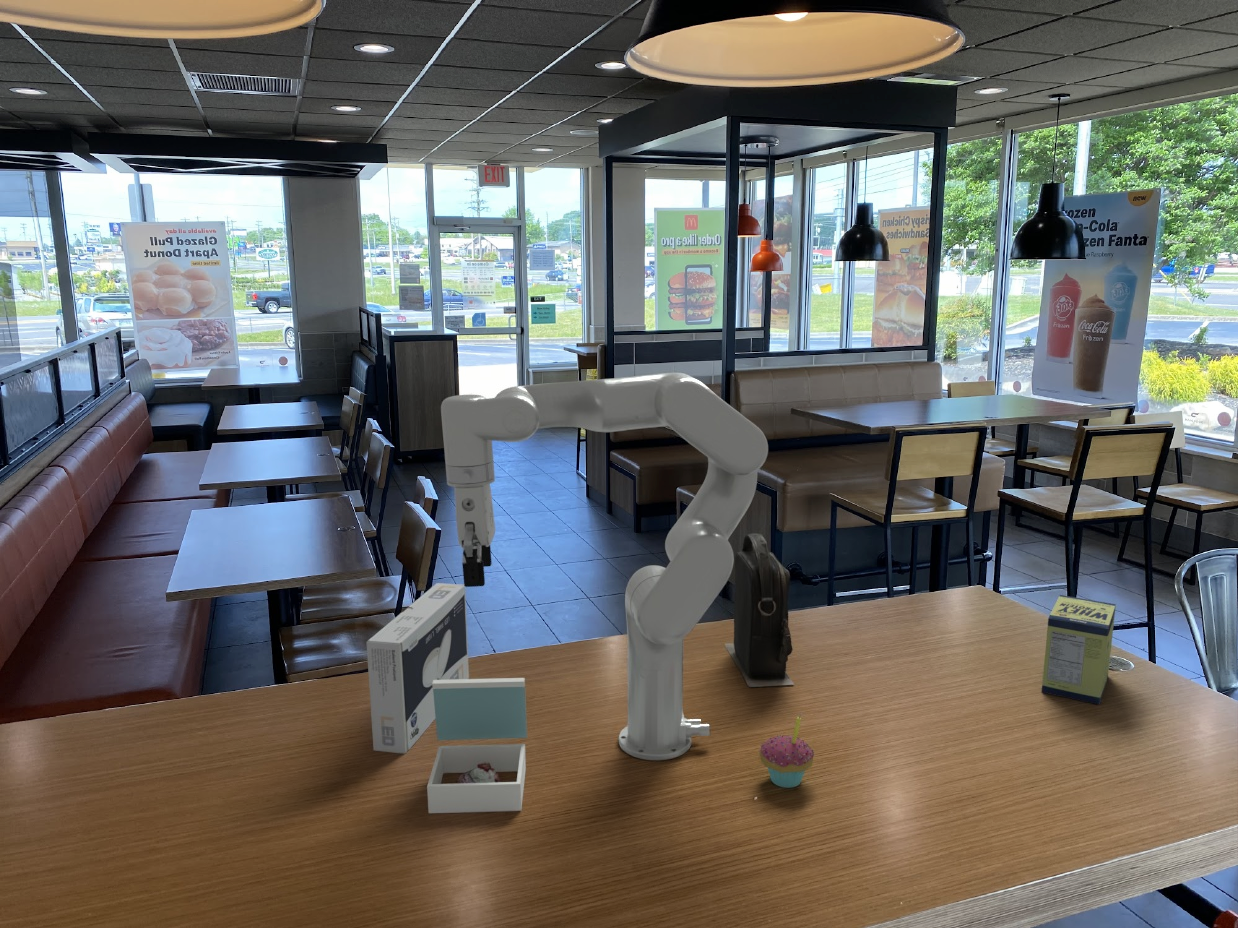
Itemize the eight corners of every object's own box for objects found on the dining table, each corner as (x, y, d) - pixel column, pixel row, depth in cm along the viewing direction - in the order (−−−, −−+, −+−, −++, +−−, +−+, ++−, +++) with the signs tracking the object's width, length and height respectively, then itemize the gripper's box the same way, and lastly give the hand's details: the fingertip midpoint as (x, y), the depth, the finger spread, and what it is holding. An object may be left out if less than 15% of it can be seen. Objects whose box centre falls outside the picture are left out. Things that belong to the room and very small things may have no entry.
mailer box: (525, 768, 151) (525, 743, 150) (521, 810, 139) (520, 783, 138) (440, 771, 151) (439, 746, 150) (428, 813, 139) (427, 786, 138)
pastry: (513, 792, 145) (513, 763, 144) (476, 812, 139) (474, 783, 138) (482, 774, 150) (481, 746, 149) (444, 793, 145) (443, 764, 144)
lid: (526, 738, 150) (527, 734, 151) (524, 681, 146) (524, 677, 147) (437, 740, 150) (438, 736, 151) (432, 683, 146) (433, 679, 147)
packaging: (406, 753, 156) (399, 643, 152) (373, 750, 157) (365, 641, 153) (469, 678, 185) (465, 584, 181) (441, 675, 187) (436, 582, 182)
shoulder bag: (723, 643, 202) (726, 520, 196) (764, 641, 203) (767, 519, 197) (749, 688, 180) (752, 552, 174) (794, 685, 181) (799, 550, 175)
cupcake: (815, 771, 150) (818, 703, 148) (808, 799, 142) (811, 727, 140) (763, 762, 153) (765, 696, 150) (753, 789, 145) (755, 719, 142)
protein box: (1108, 675, 185) (1116, 602, 182) (1100, 706, 172) (1109, 628, 169) (1052, 664, 191) (1059, 593, 187) (1040, 692, 178) (1047, 617, 174)
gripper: (487, 484, 137) (496, 593, 140) (499, 461, 154) (506, 558, 157) (437, 487, 137) (447, 595, 140) (454, 463, 154) (462, 560, 157)
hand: (478, 575), depth 149 cm, fingers open, 9 cm apart
